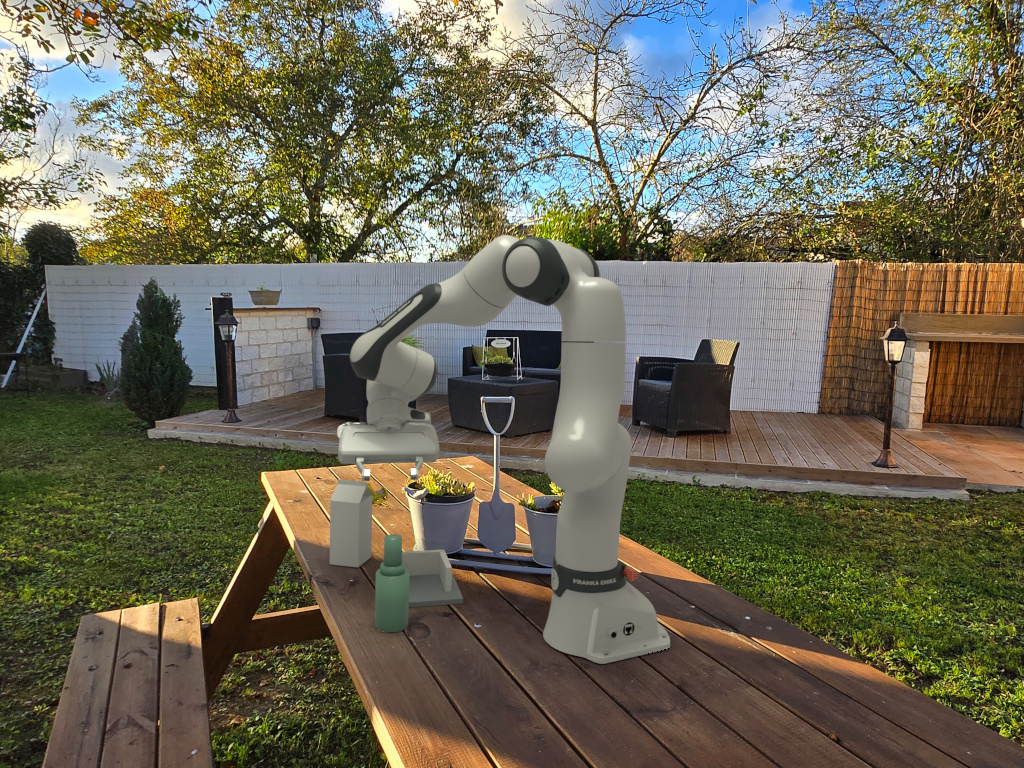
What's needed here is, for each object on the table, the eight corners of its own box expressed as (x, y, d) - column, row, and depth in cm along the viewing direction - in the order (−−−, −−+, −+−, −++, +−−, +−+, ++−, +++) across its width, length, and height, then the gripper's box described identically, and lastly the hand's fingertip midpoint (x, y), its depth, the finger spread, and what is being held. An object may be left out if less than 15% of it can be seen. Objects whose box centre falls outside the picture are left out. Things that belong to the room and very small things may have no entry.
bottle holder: (449, 570, 144) (449, 544, 144) (463, 603, 127) (464, 574, 127) (381, 574, 141) (382, 547, 140) (386, 609, 123) (387, 578, 123)
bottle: (406, 616, 120) (408, 531, 119) (409, 631, 114) (411, 541, 113) (374, 619, 119) (375, 532, 117) (375, 634, 113) (377, 543, 112)
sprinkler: (332, 485, 200) (376, 478, 209) (331, 497, 201) (375, 490, 210) (357, 507, 185) (404, 499, 194) (357, 520, 186) (403, 512, 195)
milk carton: (358, 568, 143) (359, 485, 142) (329, 565, 145) (330, 482, 143) (371, 557, 150) (373, 478, 149) (343, 554, 152) (344, 476, 150)
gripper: (337, 413, 129) (335, 471, 121) (437, 413, 134) (443, 469, 126) (337, 431, 134) (335, 488, 125) (434, 431, 139) (439, 486, 130)
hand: (390, 479), depth 126 cm, fingers open, 8 cm apart
